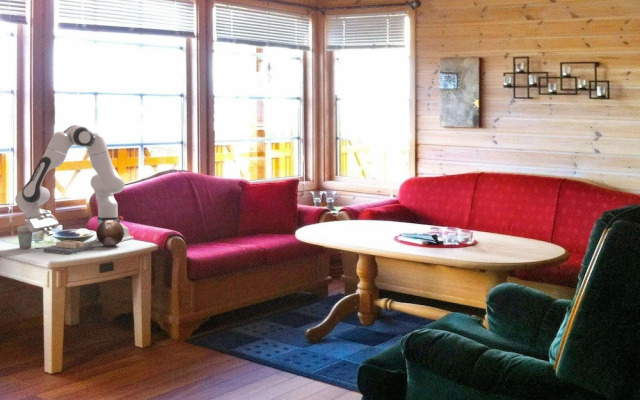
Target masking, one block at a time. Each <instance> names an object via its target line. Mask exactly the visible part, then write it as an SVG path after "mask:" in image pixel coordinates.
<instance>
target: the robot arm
mask: <svg viewBox="0 0 640 400" xmlns="http://www.w3.org/2000/svg"><path fill="white" fill-rule="evenodd" d="M72 146H79V147H86V149H87V153H88V156H89V160H90V164H91V167H92V169H93V170H94V171H95V172H96V174H95V175H93V176H92V177H91V178H90V179H91V180H90V186H91V188H92V189H93V191H94V194H95V198H96V201H97V212H98V213H97V227H98V226H99V225H100V224H101V223H102V222H103V221H105V220H115V221H117V222H119V223H120V224H121V225H122V227H123V229H124V236H123V239H122V240H121V242H120V243H122V242H125V241H128V240H132V239H134V236H132V235H130V231H129V227H127V226H126V225H124V224H123V223H122V222H121V221H124V216H121V215H120V216H119V215H118V214H119V212H118V210H119V209H118V208H119V206H118V201H117V200H116V199H115V196H114V194H120V193H121V192H122V191H123V190H124V189H125V181H124V179H123V178H122V177H121V176H120V175H119V173H118V171H117V170H116V168H115V166H114V164H113V162H112V159H111V156H110V152H109V149H108V146H107V143H106V141H105V138H104V136H103V135H102V134H101V133H99V132H92V131H91V130H90V129H89V128H87V127H84V126H82V125H71V126H69V127H68V128H66V129H65V130H63V131H57V132H55V133H54V134H53V136H52V137H51V139H50V140H49V143H48V144H47V147H46V149H45V152H44V153H43V155H42V157H41V158H40V160H39V162H38V163H37V165H36V167H35V169H34V170H33V172H32V175H31V177H30V179H29V180H28V182H27V183H26V184H25V185H24V186H23V188H22V190H21V191H19V192H18V193H17V194H16V195H15V198H14V200H15V203H16V205H17V206H18V208H19V209H20V211H21V212H22V213H24V215H25V218H24V223H25V226H27V227H28V229H29V230H30V231H31V232H32V234H34V233H38V232H42V233H43V234H45V235H46V236H48V237H50V236H53V235H54V232H53V229H56V228H57V227H58V226H60V225H59V224H60V223H59V221H58V220H57V218H56V217H55V216H54V215H53V214H52V212H51V210H48V209H43V208H42V207H41V206H43V205H45V204H46V203H47V202H48V201H50V198H51V192H50V190H49V189H48V188H47V187H44V186H42V183H43V181H44V179H45V178H46V175H47V173H48V172H50V170H53V169H55V168H58V167H60V166H61V165H63V163H64V162H65V160H66V158H67V155H68V153H69V150H70V148H71V147H72ZM95 242H99V243H100V241H99V240H98V238H97V237H96V238H95Z"/></svg>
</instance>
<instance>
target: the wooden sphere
mask: <svg viewBox="0 0 640 400" xmlns="http://www.w3.org/2000/svg"><path fill="white" fill-rule="evenodd" d="M120 223H121V222H120ZM120 223H119V222H117V221H115V220H105V221H103V222H102V223H101V224H100V225H99V226H98V225H97V228H96V232H95V233H96V238H98V240H99V241H100V242H99V243H101V245H104V246H105V247H114V246H115V247H116V246H117V245H119V244H120V243H122V242H121V240H122V239H123V236H124V229H123V227H122V225H121V224H120Z"/></svg>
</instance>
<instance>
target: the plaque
mask: <svg viewBox="0 0 640 400" xmlns="http://www.w3.org/2000/svg"><path fill="white" fill-rule="evenodd" d="M55 245H56V247H60V248H71V249H76V248H80V247H83V246H84V245H85V242H84V241H78V240H77V241H76V240H68V239H67V240H65V239H64V240H60V241H57V242H55Z"/></svg>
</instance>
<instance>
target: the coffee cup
mask: <svg viewBox="0 0 640 400" xmlns="http://www.w3.org/2000/svg"><path fill="white" fill-rule="evenodd" d="M16 231H17V239H18V245H19V249H20V250H28V249H31V248H32V244H33V242H32V241H33V233H32V232H31V231H30V230H29V229H28V227H27V225H19V226H17V229H16Z"/></svg>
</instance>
